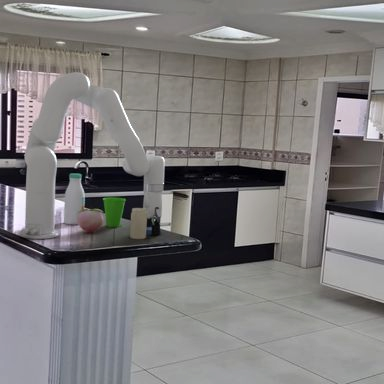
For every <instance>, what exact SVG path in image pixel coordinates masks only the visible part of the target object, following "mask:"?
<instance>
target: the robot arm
mask: <svg viewBox="0 0 384 384" xmlns="http://www.w3.org/2000/svg"><path fill="white" fill-rule="evenodd" d="M73 100H74V101H77V102H78V103H81V104H83V105H85V106H87V107H89V108H92V109H93V110H96V111H98V112H99V115H100V118H101V119H102V121H103V124H104V126H105V128H106V131H107V133H108V135H109V136H110V138H111V139H112V140H113V142H115V143H116V144H117V146H118V147H119V149H120V150H121V152H122V154H123V156H124V158H123V160H122V163H121V164H122V168H123V170H124V171H125V172H126V173H127V174H130V175H132V176H135V177H143V193H144V194H143V203H142V208H144V209H147V211H146V213H147V227H152V229H151V235H150V236H153V237H154V236H160V235H161V233H160V229H161V218H162V216H163V215H162V214H163V195H162V194H163V193H164V190H165V189H164V188H165V158H164V157H163V156H161V155H147V153H146V152H145V149H144V146H143V145H142V143H141V141H140V138H139V137H138V135H137V134H136V132H135V130H134V129H133V127H132V125H131V123H130V120H129V118H128V116H127V114H126V113H127V112H126V110H125V109H124V107H123V103H122V102H121V99H120V96H119V94H118V93H117V92H116V90H114V89H113V88H110V87H101V86H99V85H97V84H95V83H92V82H90V79H89V78H88V76H87V75H86V74H85V73H82V72H80V71H79V72H78V71H74V72H73V71H72V72H69V73H65V74H63V75H61V76H59V77H57V78H56V79H55V80H53V81H52V83H51V84H50V85H49V87H48V88H47V89H46V91H45V94H44V97H43V100H42V104H41V107H40V110H39V113H38V117H37V118H35V120H34V121H33V122H32V125H31V128H30V131H29V135H28V139H27V144H26V147H25V152H24V162H25V164H26V177H25V178H26V179H25V182H26V183H25V214H24V215H25V216H24V217H25V219H24V220H25V222H24V228H22V229H20V231H19V236H20V237H21V238H24V239H32V240H38V239H39V240H45V239H46V240H47V239H54V238H57V237H59V232H58V231H57V230H55V209H56V208H55V206H56V205H55V204H56V177H57V169H58V160H57V156H56V153H55V148H56V146H57V145H56V144H57V142H58V141H59V140H60V139H61V137H62V135H63V132H64V125H65V121H66V117H67V113H68V110H69V106H70V104H71V103H72V101H73Z"/></svg>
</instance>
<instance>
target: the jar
mask: <svg viewBox="0 0 384 384" xmlns="http://www.w3.org/2000/svg"><path fill="white" fill-rule="evenodd" d="M146 211H147V209H144V208H143V207H133V208H131V213H130V230H129V238H130V239H133V240H144V239H147V234H146V229H147V213H146Z"/></svg>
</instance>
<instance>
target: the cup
mask: <svg viewBox="0 0 384 384" xmlns="http://www.w3.org/2000/svg"><path fill="white" fill-rule="evenodd" d="M102 200H103V207H104V216H105V224H106V227H107V228H120V226H121V222H122V217H123V213H124V206H125V203H126V201H127V200H126V198H122V197H104V198H102Z"/></svg>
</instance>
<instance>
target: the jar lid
mask: <svg viewBox="0 0 384 384" xmlns="http://www.w3.org/2000/svg"><path fill="white" fill-rule="evenodd" d="M151 229H152V227H147V229H146V236H152V235H151ZM161 233H162V230H161V228H160V234H161Z"/></svg>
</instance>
